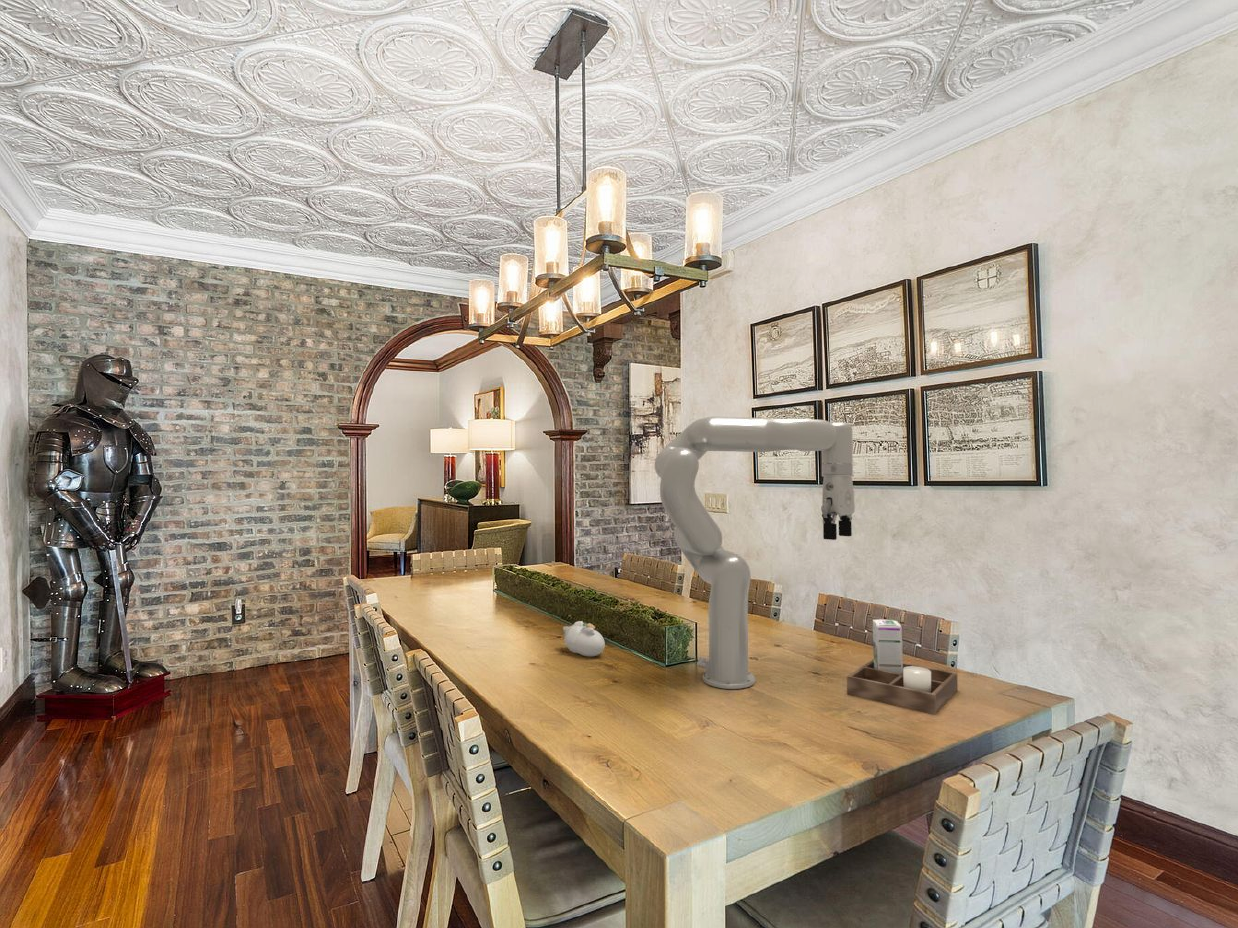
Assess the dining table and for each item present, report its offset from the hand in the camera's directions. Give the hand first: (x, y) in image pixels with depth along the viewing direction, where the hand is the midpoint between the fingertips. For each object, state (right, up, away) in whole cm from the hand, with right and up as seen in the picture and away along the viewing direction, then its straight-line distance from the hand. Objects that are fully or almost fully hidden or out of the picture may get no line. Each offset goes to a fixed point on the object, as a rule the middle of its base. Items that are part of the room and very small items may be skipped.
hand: (837, 537), depth 163 cm
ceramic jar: (+9, -33, -24) cm, 42 cm away
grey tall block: (+8, -33, -12) cm, 36 cm away
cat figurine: (-66, -35, +18) cm, 77 cm away
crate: (+9, -34, -18) cm, 40 cm away
